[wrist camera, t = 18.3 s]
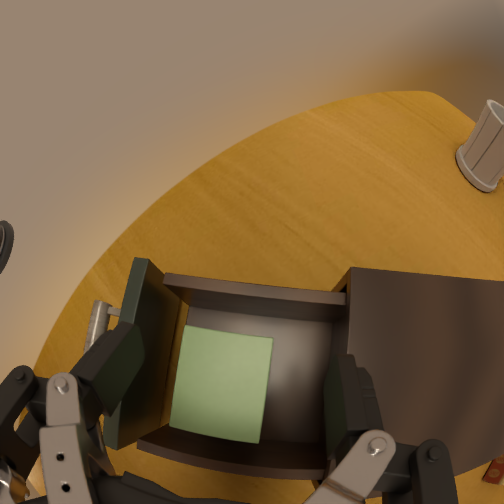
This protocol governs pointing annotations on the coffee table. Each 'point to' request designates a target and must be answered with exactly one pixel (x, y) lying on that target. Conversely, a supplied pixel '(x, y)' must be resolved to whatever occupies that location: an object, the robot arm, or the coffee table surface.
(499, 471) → the carton
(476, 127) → the cup
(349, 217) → the coffee table surface
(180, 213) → the coffee table surface
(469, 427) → the cabinet
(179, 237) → the coffee table surface
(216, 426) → the block
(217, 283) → the drawer
